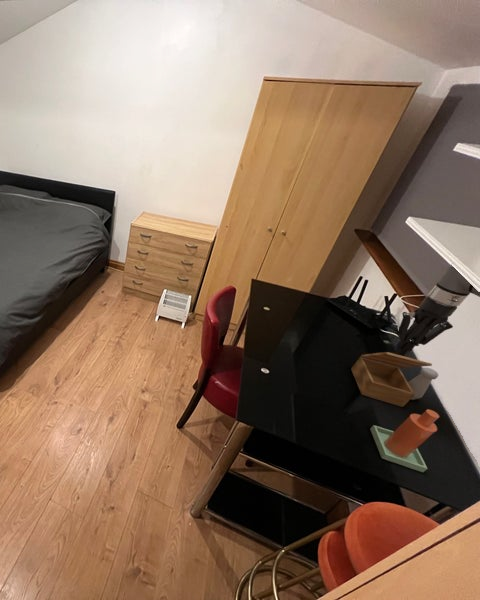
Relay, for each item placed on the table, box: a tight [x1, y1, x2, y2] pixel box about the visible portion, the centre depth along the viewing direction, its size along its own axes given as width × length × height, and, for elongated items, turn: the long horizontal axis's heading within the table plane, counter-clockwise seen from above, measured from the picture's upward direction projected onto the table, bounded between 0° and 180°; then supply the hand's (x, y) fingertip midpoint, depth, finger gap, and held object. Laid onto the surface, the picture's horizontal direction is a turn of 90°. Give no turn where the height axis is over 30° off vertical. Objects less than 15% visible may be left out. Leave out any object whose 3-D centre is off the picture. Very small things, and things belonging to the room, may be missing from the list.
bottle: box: [384, 409, 440, 457], centre depth 95 cm, size 6×6×17 cm
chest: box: [350, 356, 415, 408], centre depth 120 cm, size 15×13×7 cm
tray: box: [369, 424, 428, 473], centre depth 100 cm, size 11×10×2 cm
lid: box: [360, 351, 433, 368], centre depth 117 cm, size 15×13×1 cm
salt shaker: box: [407, 367, 439, 401], centre depth 116 cm, size 6×6×13 cm
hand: (397, 355), depth 116 cm, fingers closed
